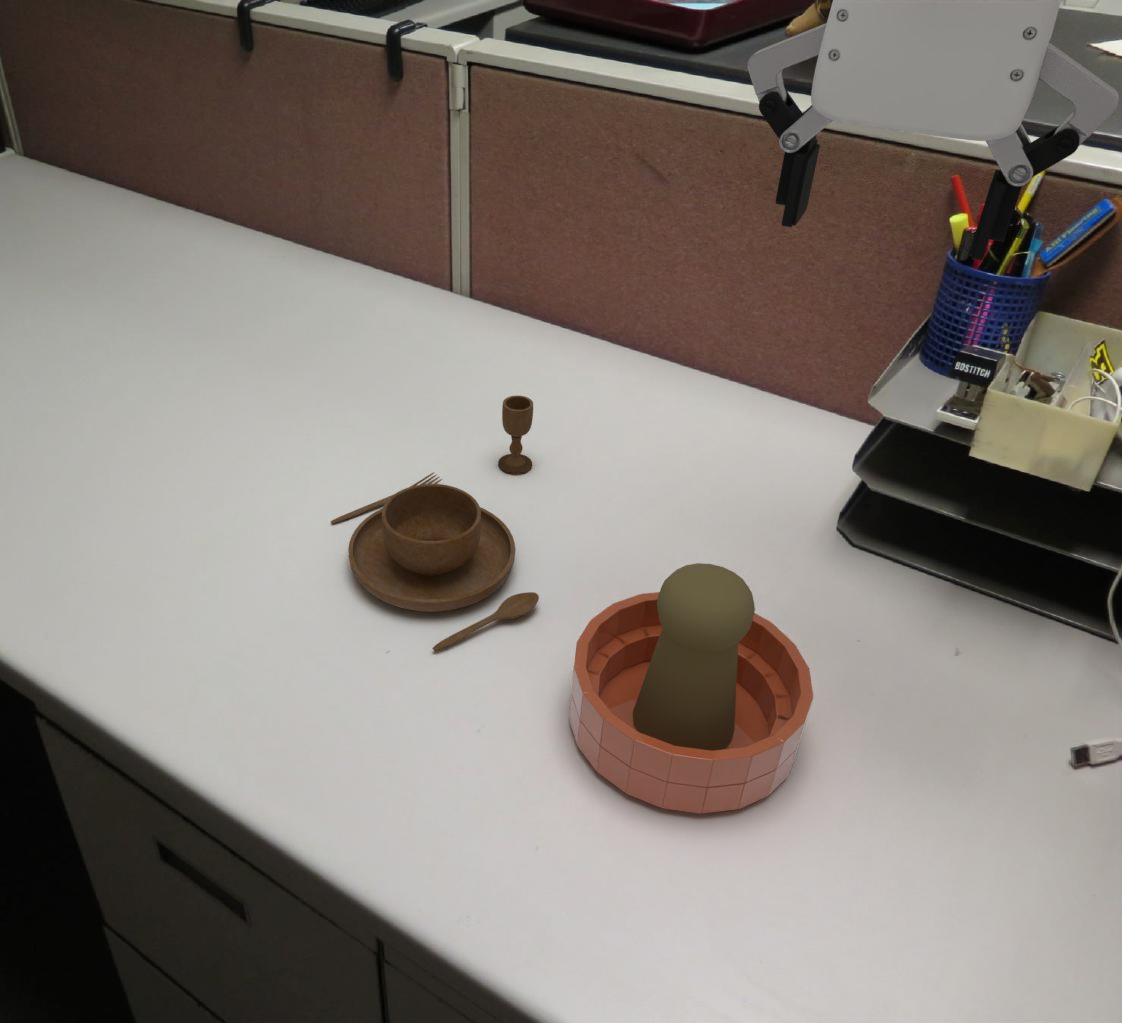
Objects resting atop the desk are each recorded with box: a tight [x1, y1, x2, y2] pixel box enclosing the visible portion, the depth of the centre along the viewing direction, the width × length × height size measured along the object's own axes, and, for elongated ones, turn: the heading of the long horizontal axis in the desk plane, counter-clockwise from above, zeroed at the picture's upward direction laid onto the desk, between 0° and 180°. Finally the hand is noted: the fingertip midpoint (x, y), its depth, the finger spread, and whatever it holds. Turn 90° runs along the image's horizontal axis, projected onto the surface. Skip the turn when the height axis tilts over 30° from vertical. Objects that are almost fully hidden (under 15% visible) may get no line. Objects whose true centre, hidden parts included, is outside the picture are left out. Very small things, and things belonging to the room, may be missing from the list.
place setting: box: [330, 395, 540, 652], centre depth 76 cm, size 18×20×6 cm
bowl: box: [568, 591, 814, 814], centre depth 62 cm, size 13×13×5 cm
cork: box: [633, 562, 756, 751], centre depth 60 cm, size 6×6×11 cm
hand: (882, 234), depth 57 cm, fingers open, 9 cm apart
